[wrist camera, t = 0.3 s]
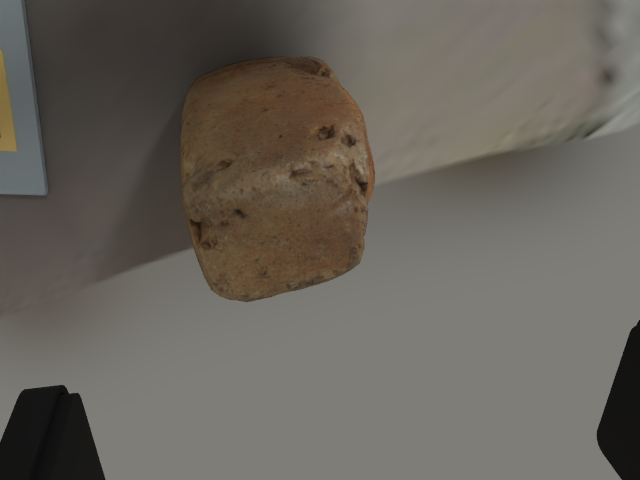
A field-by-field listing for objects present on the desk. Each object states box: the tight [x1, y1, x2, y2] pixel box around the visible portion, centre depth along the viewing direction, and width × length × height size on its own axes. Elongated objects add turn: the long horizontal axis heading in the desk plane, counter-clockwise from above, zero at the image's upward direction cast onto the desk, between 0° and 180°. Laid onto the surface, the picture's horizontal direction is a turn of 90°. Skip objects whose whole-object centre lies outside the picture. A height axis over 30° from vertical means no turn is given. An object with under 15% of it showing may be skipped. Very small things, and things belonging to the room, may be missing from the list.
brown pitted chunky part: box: [180, 57, 375, 302], centre depth 34 cm, size 11×8×20 cm
